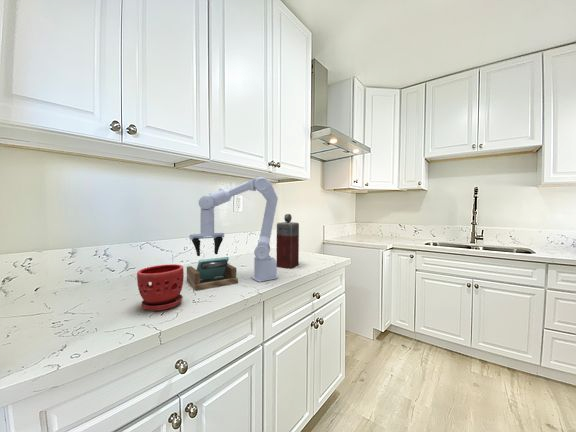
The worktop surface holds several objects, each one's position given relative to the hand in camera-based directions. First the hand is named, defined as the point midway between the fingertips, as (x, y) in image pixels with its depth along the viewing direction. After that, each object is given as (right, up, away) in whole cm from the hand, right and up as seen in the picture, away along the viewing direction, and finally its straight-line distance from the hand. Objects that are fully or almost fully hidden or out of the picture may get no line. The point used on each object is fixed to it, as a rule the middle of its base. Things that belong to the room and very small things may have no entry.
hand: (207, 254), depth 107 cm
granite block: (+1, -8, -1) cm, 8 cm away
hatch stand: (+3, -11, -4) cm, 12 cm away
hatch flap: (+4, -7, -6) cm, 10 cm away
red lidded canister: (+34, -10, +25) cm, 43 cm away
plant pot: (-5, -12, -29) cm, 32 cm away
